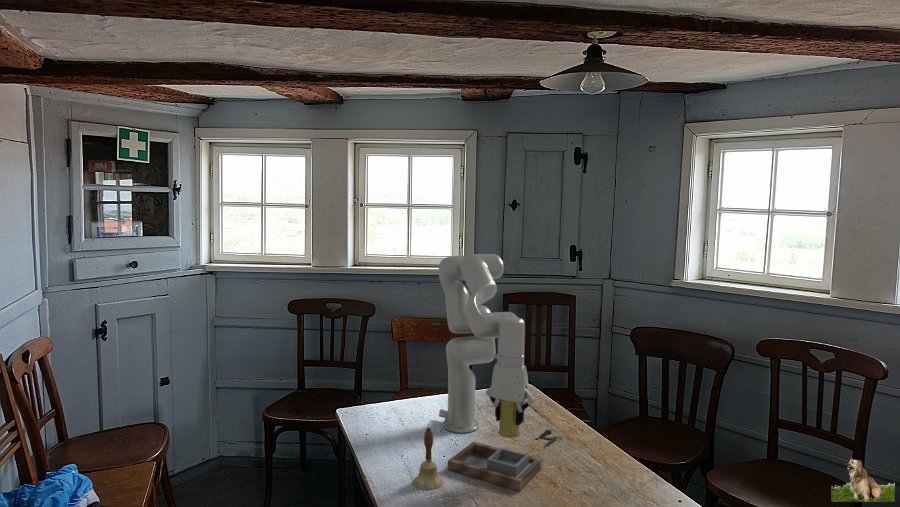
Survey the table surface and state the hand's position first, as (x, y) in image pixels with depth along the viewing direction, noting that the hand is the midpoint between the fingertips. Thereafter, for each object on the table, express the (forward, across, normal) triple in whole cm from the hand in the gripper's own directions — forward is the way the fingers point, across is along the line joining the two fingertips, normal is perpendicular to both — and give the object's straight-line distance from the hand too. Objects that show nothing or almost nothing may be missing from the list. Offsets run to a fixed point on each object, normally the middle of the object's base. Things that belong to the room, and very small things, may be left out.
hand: (509, 421), depth 166 cm
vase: (+4, 0, 0) cm, 4 cm away
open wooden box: (+16, -4, 0) cm, 16 cm away
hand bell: (+16, -17, -17) cm, 29 cm away
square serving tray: (+16, 0, 0) cm, 16 cm away
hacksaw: (+16, +2, +23) cm, 29 cm away
